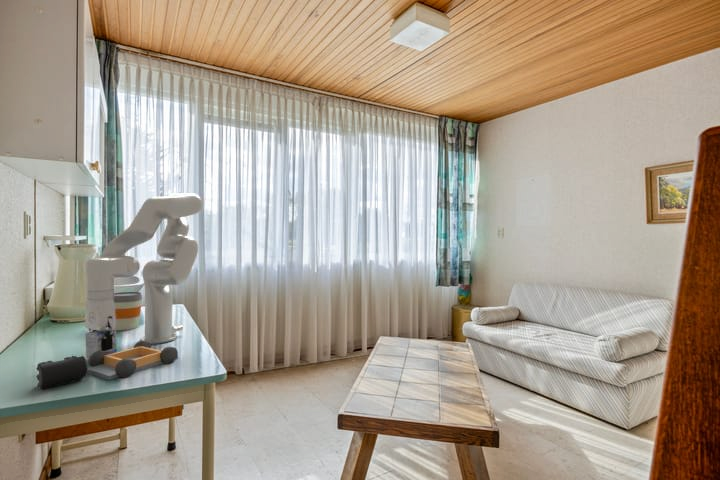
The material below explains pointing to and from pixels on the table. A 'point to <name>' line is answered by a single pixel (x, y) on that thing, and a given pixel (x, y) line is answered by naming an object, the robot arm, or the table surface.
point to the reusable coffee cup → (127, 309)
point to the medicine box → (98, 343)
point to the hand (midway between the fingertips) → (101, 347)
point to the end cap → (61, 371)
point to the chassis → (129, 360)
